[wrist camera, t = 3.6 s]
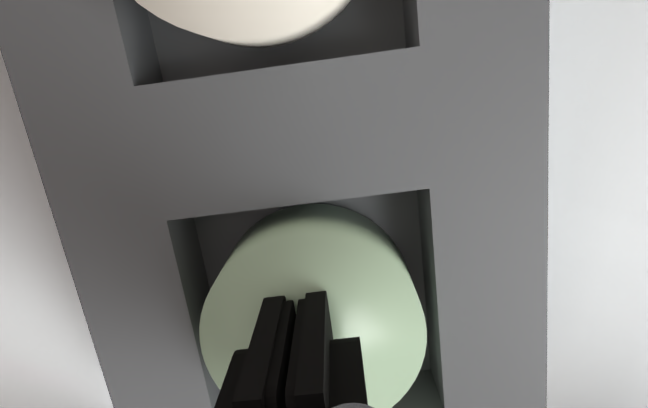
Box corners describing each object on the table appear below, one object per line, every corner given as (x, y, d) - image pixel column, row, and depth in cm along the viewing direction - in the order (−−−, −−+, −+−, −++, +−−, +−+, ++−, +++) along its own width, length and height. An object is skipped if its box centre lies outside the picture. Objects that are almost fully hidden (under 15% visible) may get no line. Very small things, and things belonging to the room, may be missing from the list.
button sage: (401, 192, 13) (418, 220, 11) (416, 363, 15) (433, 423, 12) (206, 216, 14) (176, 249, 11) (242, 380, 15) (223, 442, 13)
